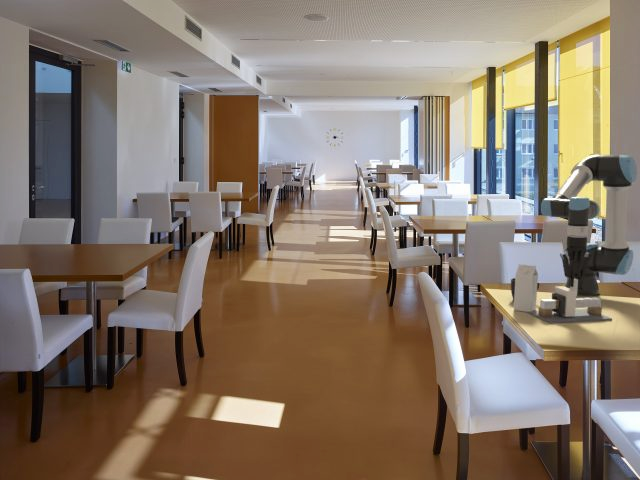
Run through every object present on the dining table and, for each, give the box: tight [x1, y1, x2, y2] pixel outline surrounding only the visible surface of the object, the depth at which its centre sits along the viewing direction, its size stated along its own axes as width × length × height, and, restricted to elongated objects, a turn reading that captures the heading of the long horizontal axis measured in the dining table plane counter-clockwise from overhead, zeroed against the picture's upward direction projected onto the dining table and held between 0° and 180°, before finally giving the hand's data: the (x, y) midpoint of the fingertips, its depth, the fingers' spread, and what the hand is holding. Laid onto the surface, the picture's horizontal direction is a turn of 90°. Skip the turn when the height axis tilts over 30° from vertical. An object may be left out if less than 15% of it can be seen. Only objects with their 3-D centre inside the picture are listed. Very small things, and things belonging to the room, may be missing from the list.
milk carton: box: [513, 263, 539, 313], centre depth 285 cm, size 7×7×19 cm
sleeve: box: [553, 285, 577, 317], centre depth 274 cm, size 4×9×10 cm, turn 13°
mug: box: [510, 277, 540, 302], centre depth 302 cm, size 8×12×10 cm
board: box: [528, 308, 613, 324], centre depth 275 cm, size 27×16×1 cm, turn 103°
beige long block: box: [538, 297, 603, 318], centre depth 275 cm, size 25×5×7 cm, turn 103°
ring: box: [551, 292, 566, 315], centre depth 273 cm, size 2×7×7 cm, turn 13°
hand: (573, 294), depth 274 cm, fingers closed
